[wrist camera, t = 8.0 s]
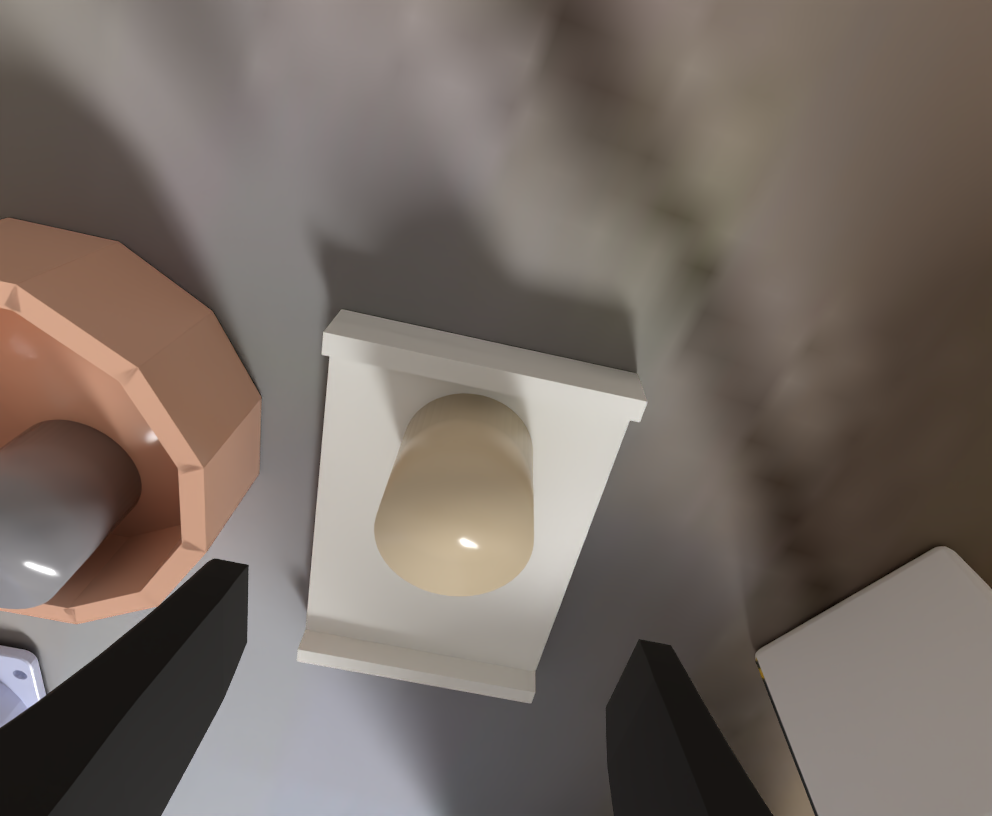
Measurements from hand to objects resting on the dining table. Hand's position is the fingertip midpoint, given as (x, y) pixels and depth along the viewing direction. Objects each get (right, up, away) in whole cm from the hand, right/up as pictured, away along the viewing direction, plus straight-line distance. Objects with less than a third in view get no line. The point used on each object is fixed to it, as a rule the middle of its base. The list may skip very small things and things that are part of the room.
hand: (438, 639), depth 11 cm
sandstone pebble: (0, +3, +6) cm, 6 cm away
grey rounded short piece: (-11, +2, +7) cm, 13 cm away
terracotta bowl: (-11, +4, +6) cm, 13 cm away
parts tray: (0, +1, +8) cm, 8 cm away
